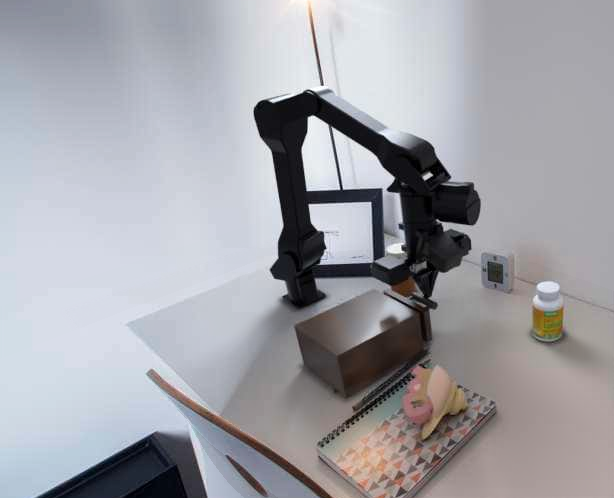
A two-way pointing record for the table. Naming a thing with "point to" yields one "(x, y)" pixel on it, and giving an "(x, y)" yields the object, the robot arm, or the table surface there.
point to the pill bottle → (409, 285)
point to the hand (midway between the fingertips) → (427, 297)
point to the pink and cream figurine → (431, 398)
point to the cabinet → (359, 341)
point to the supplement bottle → (548, 312)
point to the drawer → (417, 310)
